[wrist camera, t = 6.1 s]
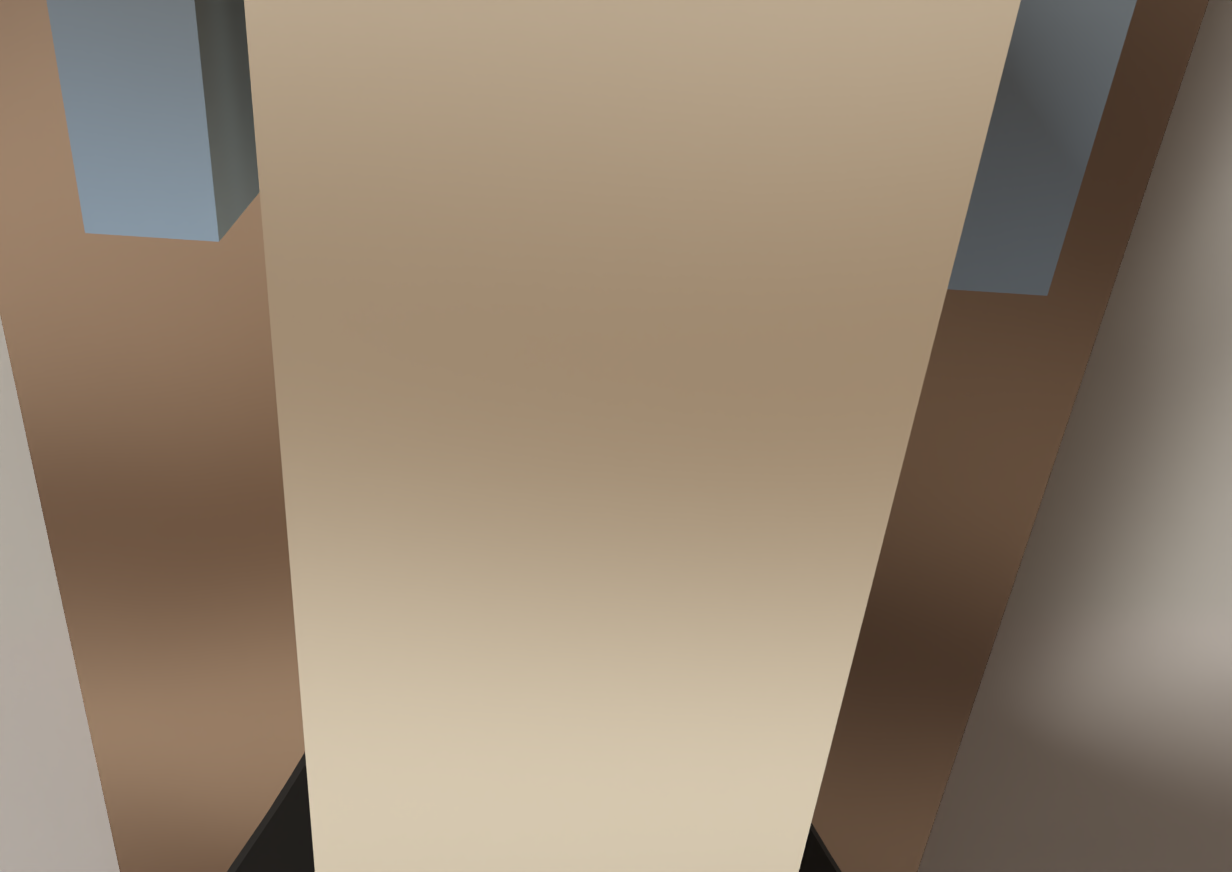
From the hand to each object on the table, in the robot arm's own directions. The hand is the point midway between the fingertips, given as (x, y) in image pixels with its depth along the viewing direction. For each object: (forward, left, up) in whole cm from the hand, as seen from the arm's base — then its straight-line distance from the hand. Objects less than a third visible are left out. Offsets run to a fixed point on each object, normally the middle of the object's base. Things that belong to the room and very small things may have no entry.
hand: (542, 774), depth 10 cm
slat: (0, 0, -2) cm, 2 cm away
